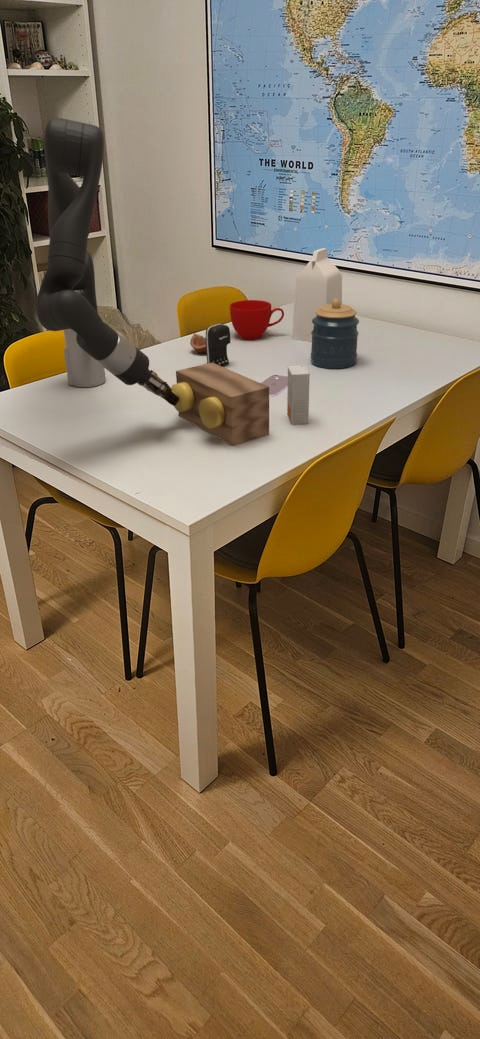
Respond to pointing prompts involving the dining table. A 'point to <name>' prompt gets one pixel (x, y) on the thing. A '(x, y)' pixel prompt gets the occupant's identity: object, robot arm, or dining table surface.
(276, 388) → the mobile phone
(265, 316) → the ceramic cup
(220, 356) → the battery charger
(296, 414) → the skincare box
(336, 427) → the dining table surface
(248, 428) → the block
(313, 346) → the canister
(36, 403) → the dining table surface
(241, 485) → the dining table surface
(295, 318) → the milk
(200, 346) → the broken brown shell
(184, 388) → the knob
